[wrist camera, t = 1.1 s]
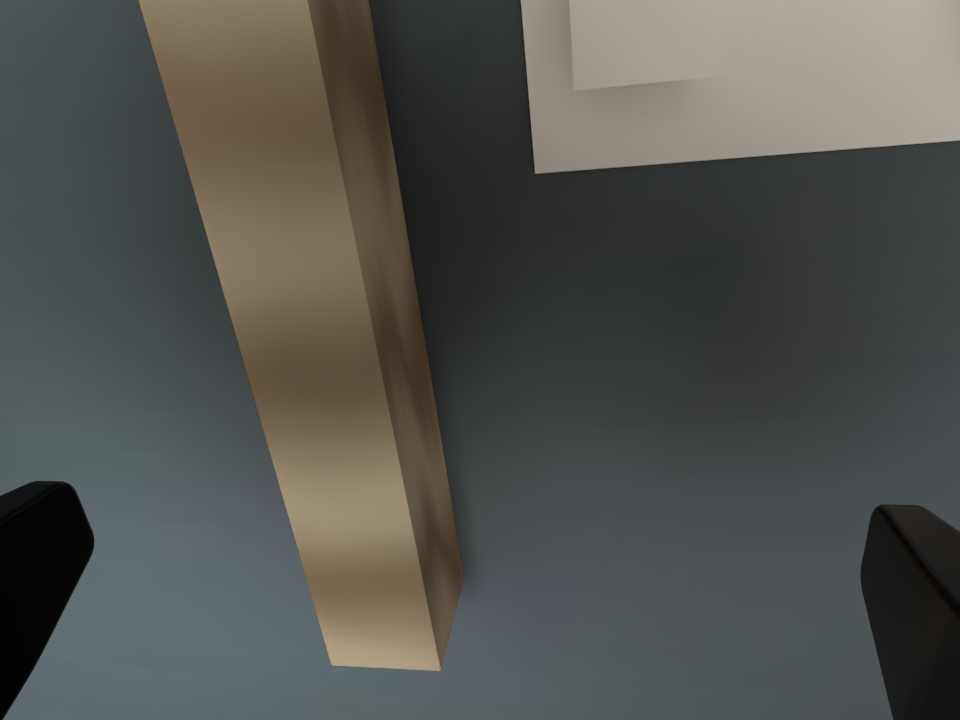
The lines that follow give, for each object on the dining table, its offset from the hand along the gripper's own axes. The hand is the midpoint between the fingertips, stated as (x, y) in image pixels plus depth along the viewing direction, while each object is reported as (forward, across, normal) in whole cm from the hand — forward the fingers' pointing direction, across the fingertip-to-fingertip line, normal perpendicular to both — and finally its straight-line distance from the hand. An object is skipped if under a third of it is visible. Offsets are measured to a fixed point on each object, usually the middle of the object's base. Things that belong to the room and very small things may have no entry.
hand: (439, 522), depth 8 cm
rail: (+13, +5, +3) cm, 14 cm away
